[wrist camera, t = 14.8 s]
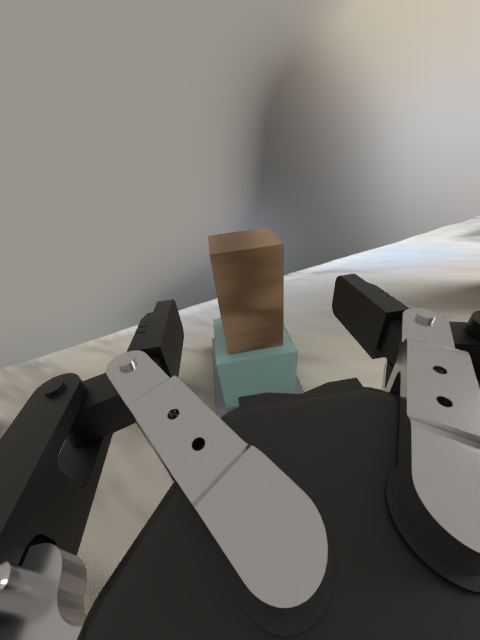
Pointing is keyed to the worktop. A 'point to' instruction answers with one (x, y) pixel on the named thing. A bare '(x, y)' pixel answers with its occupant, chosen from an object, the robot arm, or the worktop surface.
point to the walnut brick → (249, 288)
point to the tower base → (252, 371)
